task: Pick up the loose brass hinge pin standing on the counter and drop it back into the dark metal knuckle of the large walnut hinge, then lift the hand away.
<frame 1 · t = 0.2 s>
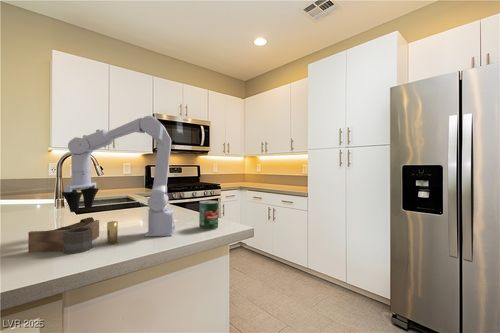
hand: (81, 209, 86), 10 cm above the countertop, tool pointing down, fingers open, 7 cm apart
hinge: (78, 249, 74), on the countertop
pin: (112, 242, 81), on the countertop
canned tomato: (208, 228, 101), on the countertop
hand tool: (73, 234, 91), on the countertop
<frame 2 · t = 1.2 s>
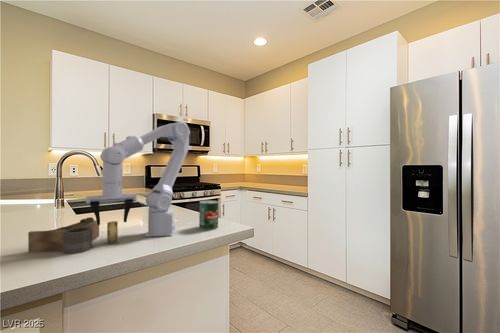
hand: (112, 222, 80), 7 cm above the countertop, tool pointing down, fingers open, 7 cm apart
nothing on the countertop moved.
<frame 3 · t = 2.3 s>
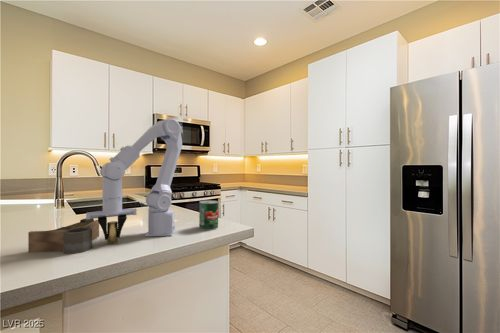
hand: (112, 238, 81), 2 cm above the countertop, tool pointing down, fingers closed on pin, 3 cm apart
pin: (112, 242, 81), on the countertop, touching gripper
everything else where it was.
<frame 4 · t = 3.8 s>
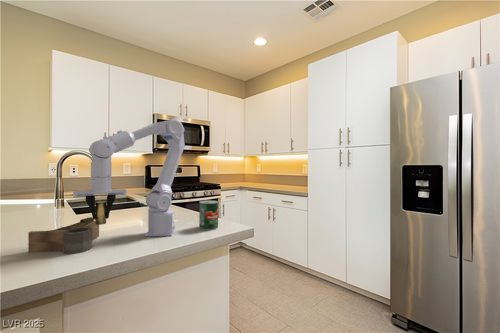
hand: (100, 218, 78), 9 cm above the countertop, tool pointing down, fingers closed on pin, 3 cm apart
pin: (100, 223, 78), point 7 cm above the countertop, touching gripper
everything else where it was.
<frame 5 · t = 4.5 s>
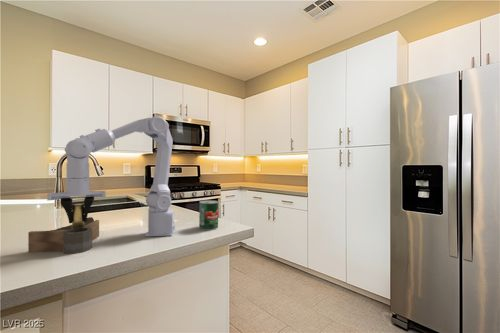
hand: (78, 221, 74), 9 cm above the countertop, tool pointing down, fingers closed on pin, 3 cm apart
pin: (78, 227, 74), point 7 cm above the countertop, touching gripper
everything else where it was.
when the fingers open (9 cm above the countertop, at t = 5.2 s): pin drops 7 cm, resting in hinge.
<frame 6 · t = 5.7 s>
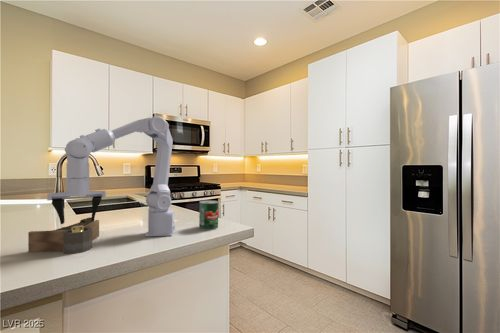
hand: (78, 221, 74), 9 cm above the countertop, tool pointing down, fingers open, 7 cm apart
pin: (78, 249, 74), resting in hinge
everything else where it was.
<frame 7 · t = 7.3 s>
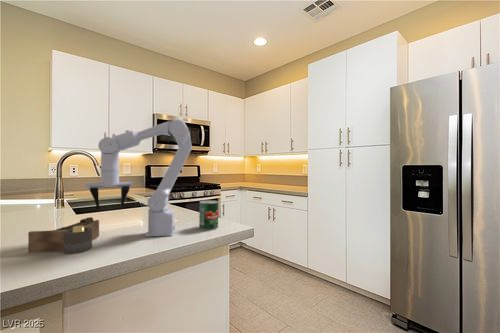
hand: (110, 207, 88), 10 cm above the countertop, tool pointing down, fingers open, 7 cm apart
nothing on the countertop moved.
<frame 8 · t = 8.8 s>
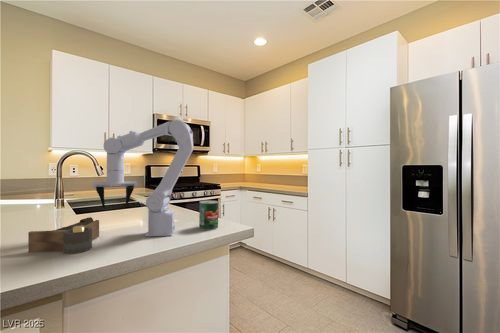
hand: (115, 206, 91), 10 cm above the countertop, tool pointing down, fingers open, 7 cm apart
nothing on the countertop moved.
at the end: pin 0.0 cm from the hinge (horizontally); pin resting in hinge; pin tilted 1° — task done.
